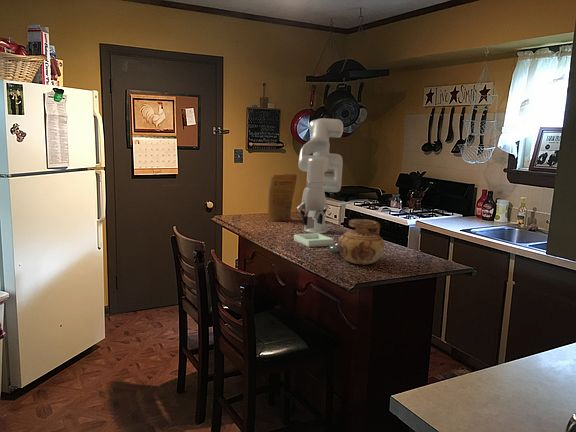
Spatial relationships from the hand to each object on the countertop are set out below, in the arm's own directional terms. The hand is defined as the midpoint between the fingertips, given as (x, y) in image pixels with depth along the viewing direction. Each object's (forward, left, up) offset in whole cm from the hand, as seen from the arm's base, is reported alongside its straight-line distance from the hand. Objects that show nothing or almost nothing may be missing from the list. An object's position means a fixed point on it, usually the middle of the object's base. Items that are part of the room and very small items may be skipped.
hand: (312, 223), depth 219 cm
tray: (-8, -11, -12) cm, 18 cm away
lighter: (0, 0, -2) cm, 2 cm away
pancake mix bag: (-19, -67, -12) cm, 71 cm away
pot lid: (-10, +7, -12) cm, 17 cm away
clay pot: (-9, +25, -12) cm, 29 cm away
